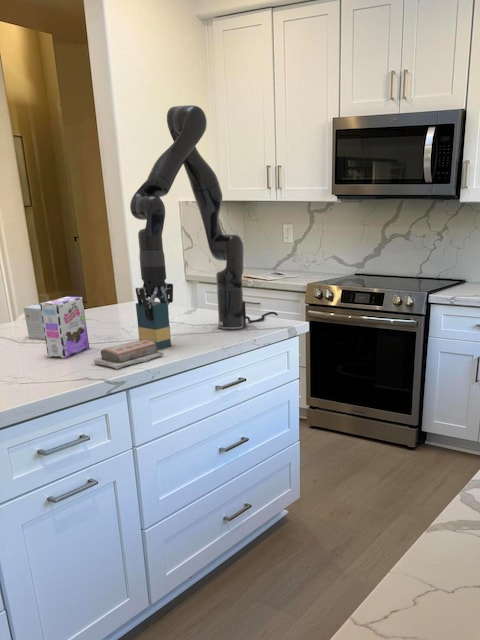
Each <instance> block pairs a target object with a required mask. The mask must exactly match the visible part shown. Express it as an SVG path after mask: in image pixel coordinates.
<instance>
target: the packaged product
mask: <svg viewBox="0 0 480 640" xmlns="http://www.w3.org/2000/svg"><path fill="white" fill-rule="evenodd" d="M163 355H164V352H161V351H159V350H158V348H157V346H156V343H155V342H154V341H149V340H139V339H138V340H134V341H130V342H126V343H122V344H121V343H120V344H118V345H113V346H109V347H105V348H102V349H101V350H100V356H101V357H96V358H93V363H94V365H99V366H104V367H108V368H113V369H116V370H119V369H122V368H124V367H127V366H131V365H135V364H138V363H144V362H148V361H150V360H153V359H157V358H160V357H162V356H163Z"/></svg>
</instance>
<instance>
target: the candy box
mask: <svg viewBox="0 0 480 640" xmlns="http://www.w3.org/2000/svg"><path fill="white" fill-rule="evenodd" d="M39 305H40V307H41V314H42V320H43V327H44V334H45V346H46V352H47V357H48V358H56V359H57V358H58V359H66V358H68V357H71V356H74V355H76V354H79V353H81V352H83V351H86V350H88V349H90V344H89V336H88V328H87V321H86V315H85V307H84V298H83V297H82V296H64V297H60V298H57V299H53V300H48V301H45V302H44V301H43V302H40V303H39Z"/></svg>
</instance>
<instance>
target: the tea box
mask: <svg viewBox="0 0 480 640" xmlns="http://www.w3.org/2000/svg"><path fill="white" fill-rule="evenodd" d="M142 303H143V302H142ZM148 303H149V302H148ZM151 309H152V314H153V320H151V321H149V320H147V319H146V317H145V309H144V308H143V307H139V304H138V302H136V303H135V310H136V319H137V332H138V340H149V341H154V342H155V343H156V346H157V348H158V350H157V351H159V350H162V349H166V348H169V347H172V336H171V327H170V317H169V315H170V313H169V314H168V312H169V305H168V303H162V302H160V301H154V302H153V304H152V308H151Z"/></svg>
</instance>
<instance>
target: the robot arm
mask: <svg viewBox="0 0 480 640" xmlns="http://www.w3.org/2000/svg"><path fill="white" fill-rule="evenodd" d="M166 124H167V128H168V132H169V134H170V136H171V139H172V141H173V142H172V143H171V145H170V146H169V147H168V148H167V149H166V150H164V152H163V153H162V154H160V155H159V157H158V158H157V160H156V161H155V162H154V164H153V166H152V168H151V170H150V171H149V174H148V176H147V179H146V180H145V181H144V182H143V183H142V184H141V186H140V187H139V188H138V189H137V190H136V192H135V193H134V194H133V196H132V198H131V199H130V202H129V203H130V204H129V209H130V213H131V215H132V216H133V217H134V218H135V219H137V220H139V221H140V220H141V221H146V222H145V227H144V228H142V229H139V231H138V233H137V239H138V248H139V249H138V250H139V254H138V255H139V256H138V259H139V268H140V278H141V280H142V282H143V283H142V284H143V285H142V286H141V287H135V294H136V299H137V303H138V304H139V307H143V308H144V309H145V317H146V319H147V320H149V321H151V320H153V314H152V309H151V308H152V304H153V302H154V301H155V300H156V299H157V300H159V302H162V303H168V306H169V305H170V304H171V303H173V302H174V283H171V282H166V280H167V270H166V259H165V252H164V244H163V243H164V242H163V232H164V225H165V221H166V220H165V219H166V207H165V204H164V202H163V200H162V199H161V198H162V197H165V196H167V195H168V194H169V192H170V190H171V188H172V186H173V184H174V182H175V180H176V177H177V176H178V173H179V172H180V170H181V168H182V167H184V170H185V173H186V176H187V178H188V182H189V184H190V188H191V191H192V194H193V198H194V199H195V202H196V206H197V209H198V211H199V215H200V217H201V221H202V223H203V228H204V232H205V236H206V240H207V244H208V248H209V251H210V254H211V256H212V258H214V260H217V261H221V262H226V263H225V268H223V269H222V270H220V271H216V273H215V279H216V296H217V315H218V321H217V323H218V328H219V329H221V330H226V331H227V330H228V331H231V330H232V331H234V330H240V329H244V328H247V322H248V323H258V322H261V321H264V320H265V317H266V316H270V315H275V316H279V313H277V312H276V311H269V312H266V313H264V314H262V315H261V317H260V318H257V319H251V317H249V316H247V314H246V301H245V300H244V292H243V274H244V258H245V257H244V254H245V253H244V252H245V251H244V242H243V239H242V238H241V237H240V235H238V234H233V233H232V234H231V233H224V232H223V230H222V227H221V223H220V212H221V210H222V209H221V208H222V204H223V192H222V188H221V185H220V182H219V178H218V176H217V174H216V172H215V171H214V170H213V169H212V167H211V166H210V165H209V163H208V162H207V161H206V160H205V159H204V157H203V156H202V155H201V154H200V152H199V150H198V148H197V145H198V143H199V142H200V141H201V139H202V138H203V136H204V135H205V132H206V129H207V125H208V121H207V116H206V113H205V111H204V110H203V109H202V108H201V107H200V106H198V105H193V104H192V105H191V104H189V105H174V106H171V107H170V108H169V109H168V111H167V113H166ZM142 302H143V303H142ZM148 302H149V303H148ZM155 302H156V301H155ZM168 314H169V315H170V312H169V311H168Z"/></svg>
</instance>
